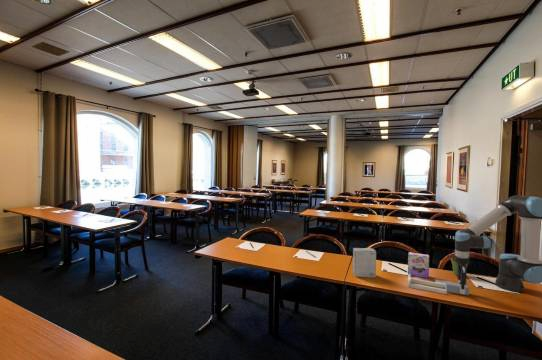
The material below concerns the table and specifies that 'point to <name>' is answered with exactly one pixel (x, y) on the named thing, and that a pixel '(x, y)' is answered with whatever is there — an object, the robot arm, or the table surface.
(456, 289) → the blank
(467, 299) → the table surface
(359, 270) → the hard drive box
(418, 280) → the shelf bay
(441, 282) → the mat
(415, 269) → the candy box
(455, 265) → the plant pot
